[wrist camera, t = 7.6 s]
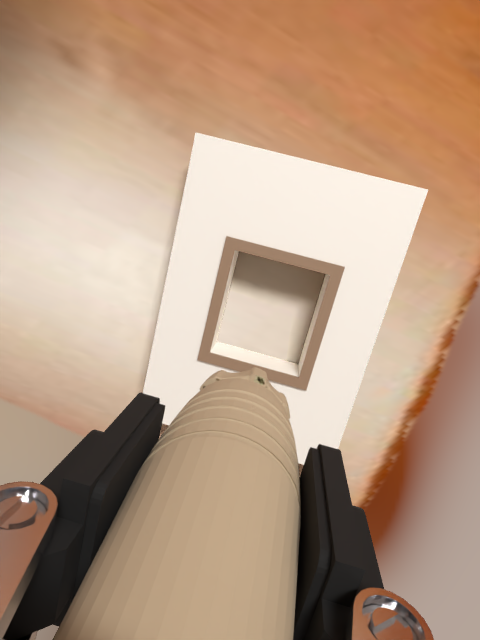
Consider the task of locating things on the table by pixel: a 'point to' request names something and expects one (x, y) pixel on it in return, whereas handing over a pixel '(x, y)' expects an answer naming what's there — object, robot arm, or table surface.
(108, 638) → the handle
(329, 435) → the socket board
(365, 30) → the table surface
